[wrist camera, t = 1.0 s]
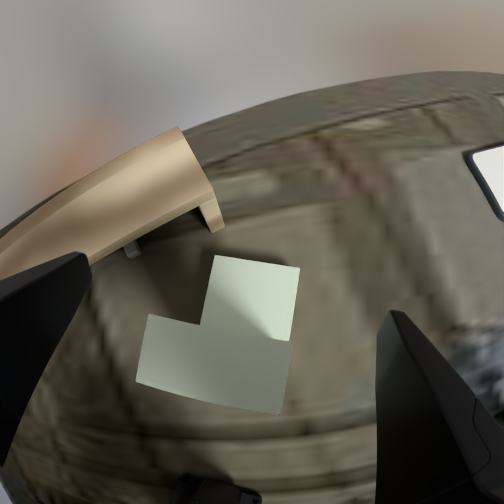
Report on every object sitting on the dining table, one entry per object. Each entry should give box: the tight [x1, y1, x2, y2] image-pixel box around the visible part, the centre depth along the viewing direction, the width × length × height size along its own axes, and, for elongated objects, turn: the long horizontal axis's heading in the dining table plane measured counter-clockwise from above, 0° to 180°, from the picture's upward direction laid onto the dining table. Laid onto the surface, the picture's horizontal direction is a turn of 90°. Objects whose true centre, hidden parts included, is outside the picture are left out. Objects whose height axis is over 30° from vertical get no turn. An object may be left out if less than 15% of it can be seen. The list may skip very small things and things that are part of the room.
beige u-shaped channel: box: [0, 127, 225, 280], centre depth 21 cm, size 7×24×6 cm, turn 118°
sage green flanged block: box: [135, 255, 300, 415], centre depth 16 cm, size 8×6×12 cm
